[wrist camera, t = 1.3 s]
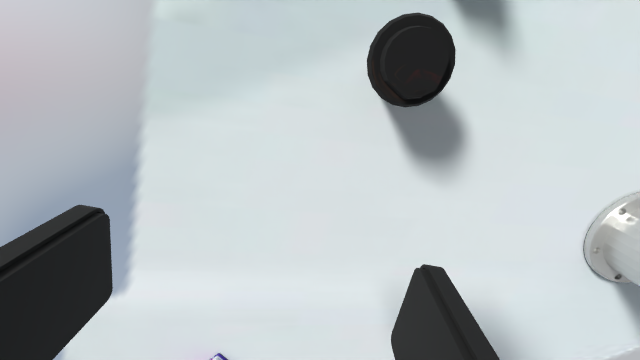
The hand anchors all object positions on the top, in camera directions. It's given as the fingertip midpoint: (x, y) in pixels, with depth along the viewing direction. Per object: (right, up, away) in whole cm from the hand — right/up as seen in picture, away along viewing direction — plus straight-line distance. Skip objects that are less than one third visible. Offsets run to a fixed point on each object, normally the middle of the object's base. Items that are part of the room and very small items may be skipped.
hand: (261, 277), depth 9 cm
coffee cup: (+9, +15, +23) cm, 29 cm away
